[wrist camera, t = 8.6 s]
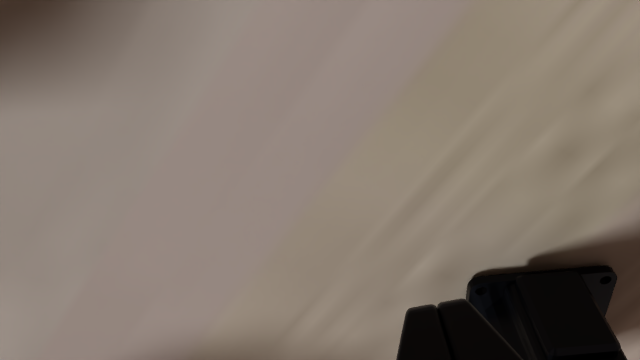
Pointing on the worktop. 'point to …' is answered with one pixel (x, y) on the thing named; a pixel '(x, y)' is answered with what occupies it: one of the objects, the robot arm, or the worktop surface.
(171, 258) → the worktop surface
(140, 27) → the worktop surface
